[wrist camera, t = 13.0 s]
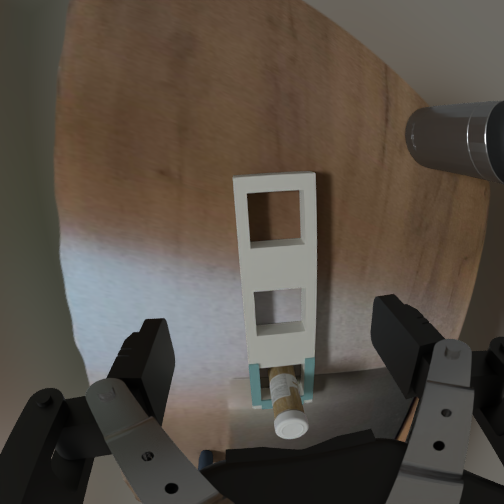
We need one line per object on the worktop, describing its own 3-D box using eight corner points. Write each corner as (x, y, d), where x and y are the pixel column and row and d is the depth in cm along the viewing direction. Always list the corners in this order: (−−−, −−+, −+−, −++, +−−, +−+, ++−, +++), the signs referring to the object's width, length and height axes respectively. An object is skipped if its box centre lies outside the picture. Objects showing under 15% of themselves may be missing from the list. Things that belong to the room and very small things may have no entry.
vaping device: (197, 460, 59) (194, 505, 47) (201, 448, 57) (199, 494, 46) (209, 462, 59) (207, 506, 48) (214, 450, 57) (213, 496, 46)
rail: (309, 171, 41) (316, 173, 38) (308, 390, 53) (312, 403, 50) (232, 175, 41) (232, 177, 38) (251, 396, 53) (253, 410, 49)
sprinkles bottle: (297, 374, 51) (313, 433, 39) (272, 383, 52) (282, 443, 39) (288, 355, 50) (303, 415, 37) (262, 365, 50) (270, 426, 38)
